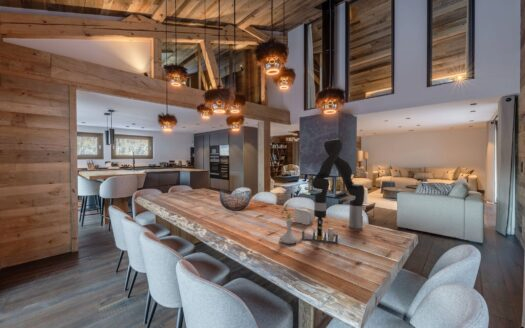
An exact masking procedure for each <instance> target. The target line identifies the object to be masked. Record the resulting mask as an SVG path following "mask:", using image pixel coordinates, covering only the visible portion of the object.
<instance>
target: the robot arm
mask: <svg viewBox="0 0 525 328" xmlns="http://www.w3.org/2000/svg"><path fill="white" fill-rule="evenodd" d="M323 148H324V150H325V152H326V153H327V155H328V156H327V157H326V159H325V160H324V161H323V162H322V164H321V165H320V168H319V171H318V173H317V174H316V175H315V176H314V178H313V180H312V183H311V185H312V188H314V189H316V190H321V192H316V193H315V194H314V206H313V207H314V208H313V209H314V216H315V218H316V226H317V227H318V229H317V227H316V231H317V230H318V236H321V231H322V228H323V226H324V225H323V224H324V218H326V217H327V194H328V190H329V187H330V181H329V179H328V178H329V177H330V175H331V171H332V170H333V166H334V167H335V168H336V171H337V172H338V174H339V175H340V178H341V179H342V182H343V184H344V185H345V188H346V191H347V193H348V194H349V195H350V196H353V197H355V198H354V199H352V200H350V201H349V217H348V221H349V222H348V225H349V226H348V227H349V228H351V229H355V230H356V229H357V230H360V229H362V230H363V225H364V222H363V219H364V216H363V206H364V205H363V203H364V201H365V200H364V199H365V187H364V185H362V184H357V183H354V182H353V180H352V175H353V169H352V167H351V165H350V164H349V162H348V161H347V160H346V159H345V158H343V157H341V156H340V153H341V151H342V148H343V142H342V140H341V139H340V138H334V139H329V140H325V141H324V144H323ZM319 227H321V228H319Z"/></svg>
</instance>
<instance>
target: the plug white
mask: <svg viewBox="0 0 525 328" xmlns="http://www.w3.org/2000/svg"><path fill="white" fill-rule="evenodd" d="M334 234H335V228H334V227H328V228H327V238H328V240H331V241H332V240H334V238H335V237H334V236H335V235H334Z"/></svg>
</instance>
